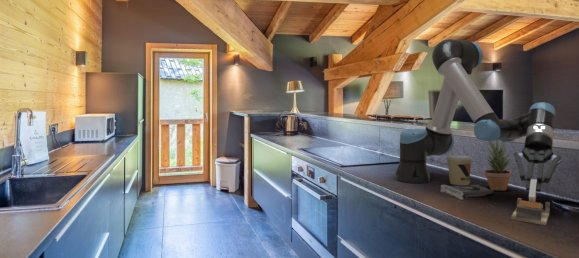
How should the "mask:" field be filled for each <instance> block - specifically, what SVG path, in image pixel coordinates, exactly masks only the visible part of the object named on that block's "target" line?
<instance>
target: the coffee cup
mask: <svg viewBox="0 0 579 258" xmlns="http://www.w3.org/2000/svg"><path fill="white" fill-rule="evenodd" d="M447 164H448V165H447V166H448V167H447V168H448V178H449V184H451V185H453V186H462V185H470V182H471V167H472V166H471V165H472V157H471V156H470V155H466V154H465V155H464V154H463V155H461V154H460V155H459V154H454V155H448V157H447Z"/></svg>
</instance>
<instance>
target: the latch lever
mask: <svg viewBox="0 0 579 258" xmlns="http://www.w3.org/2000/svg"><path fill="white" fill-rule="evenodd" d="M519 206H523V207H528V208H534V209H541V210H544V205H543V203H542V202H536V201H535V202H532V201H529V200H520V201H519Z"/></svg>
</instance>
